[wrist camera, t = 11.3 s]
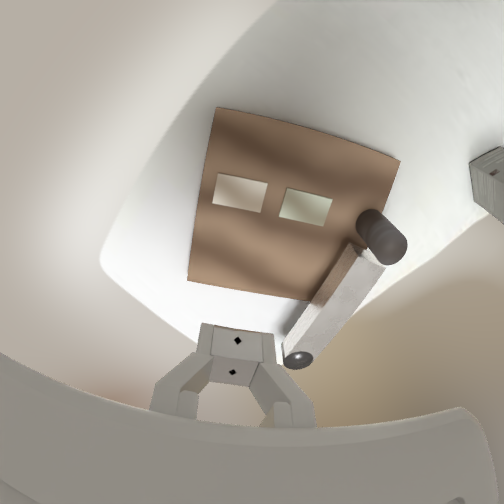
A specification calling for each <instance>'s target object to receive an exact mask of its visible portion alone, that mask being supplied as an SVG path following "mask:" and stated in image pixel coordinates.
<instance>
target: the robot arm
mask: <svg viewBox="0 0 504 504" xmlns="http://www.w3.org/2000/svg"><path fill="white" fill-rule="evenodd" d="M209 382H216V383H224V384H233V385H239V386H246V387H249V389H250V391H251V392H252V394H253V396H254V397H255V399H256V400H257V402H258V404H259V405H260V407H261V408H262V410H263V412H264V413H265V415H266V417H265V418H264V420H263V421H262V423H261V424H260V426H259V427H255V426H242V425H231V424H222V423H215V422H207V421H201V420H196V418H197V409H198V399H199V395H198V394H199V393H200V392H201V390H202V389H203V388H204V387H205V386H206V385H207V384H208V383H209ZM0 504H499V497H498V487H497V480H496V475H495V470H494V465H493V460H492V457H491V453H490V450H489V446H488V443H487V439H486V436H485V433H484V430H483V428H482V426H481V424H480V422H479V421H478V420H477V419H476V418H475V417H474V416H473V415H472V414H471V413H470V412H468V411H467V410H466V409H464V408H463V407H456V408H452V409H449V410H445V411H441V412H437V413H432V414H428V415H423V416H418V417H413V418H408V419H402V420H396V421H390V422H383V423H375V424H366V425H356V426H344V427H326V428H317V424H316V418H315V412H314V406H313V402H312V401H311V400H310V399H309V398H308V396H307V395H306V394H305V393H304V392H303V391H302V390H301V388H300V387H299V386H298V385H297V384H296V383H295V381H294V380H293V379H292V378H291V377H290V376H289V374H288V373H287V372H286V371H285V370H284V369H283V367H282V366H281V365H280V364H277V362H276V352H275V342H274V335H273V334H271V333H263V332H255V331H248V330H241V329H233V328H228V327H223V326H218V325H211V324H207V323H202V324H201V327H200V333H199V339H198V345H197V351H196V353H195V352H192V353H191V354H190V355H189V356H188V357H186V358H185V359H184V360H183V361H182V362H180V363H179V364H178V365H177V366H176V367H175V368H173V369H172V370H171V371H170V372H169V373H167V374H166V375H165V376H164V377H163V378H161V379H160V380H159V381H158V382H157V383H156V384H155V388H154V392H153V396H152V400H151V404H150V408H149V410H146V409H141V408H138V407H133V406H130V405H126V404H123V403H119V402H116V401H113V400H109V399H106V398H103V397H100V396H97V395H94V394H91V393H88V392H85V391H83V390H80V389H78V388H75V387H72V386H70V385H67V384H65V383H62V382H60V381H57V380H55V379H53V378H50V377H48V376H46V375H44V374H41V373H39V372H37V371H35V370H33V369H31V368H29V367H27V366H25V365H23V364H21V363H19V362H17V361H15V360H13V359H11V358H9V357H8V356H6V355H4V354H2V353H1V352H0Z"/></svg>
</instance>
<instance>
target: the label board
mask: <svg viewBox="0 0 504 504" xmlns="http://www.w3.org/2000/svg"><path fill="white" fill-rule="evenodd" d="M400 162H401V161H399V160H396V159H394V158H392V157H390V156H387V155H385V154H382V153H380V152H377V151H374V150H372V149H369V148H367V147H364V146H361V145H358V144H356V143H353V142H350V141H347V140H344V139H341V138H338V137H335V136H332V135H329V134H326V133H323V132H319V131H316V130H313V129H309V128H306V127H302V126H299V125H295V124H292V123H288V122H284V121H280V120H276V119H272V118H268V117H263V116H259V115H254V114H250V113H245V112H240V111H235V110H230V109H224V108H218V107H216V110H215V115H214V119H213V124H212V129H211V134H210V139H209V144H208V149H207V154H206V159H205V164H204V170H203V175H202V181H201V187H200V193H199V199H198V205H197V211H196V218H195V224H194V231H193V238H192V246H191V253H190V261H189V269H188V277H187V281H192V282H197V283H202V284H208V285H213V286H219V287H224V288H230V289H236V290H241V291H247V292H253V293H259V294H265V295H272V296H278V297H284V298H291V299H297V300H304V301H312V299H313V298H314V296H315V295H316V293H317V292H318V290H319V289H320V287H321V286H322V284H323V283H324V281H325V280H326V278H327V277H328V275H329V274H330V272H331V270H332V269H333V267H334V266H335V264H336V263H337V261H338V259H339V258H340V256H341V255H342V253H343V251H344V250H345V248H346V247H347V245H348V243H349V242H350V243H352V244H354V245H356V246H359V247H361V248H363V249H365V250H366V249H367V247H369V249H370V250H371V252H372V253H373V254H374V256H375V257H376V258H377V260H378V261H379V262H380V263H381V264H383V265H392V264H395V263H397V262H398V261H399V260H401V259H402V257H403V256H404V255H405V253H406V250H407V240H406V238H405V236H404V235H403V234H402V233H401V232H400V231H399V230H398V229H397V228H396V227H395V226H394V225H393V224H392V223H391V222H390V221H389V220H388V219H387V218H386V217H384V216H383V215H382V211H383V209H384V206H385V204H386V201H387V198H388V196H389V193H390V190H391V188H392V185H393V182H394V179H395V176H396V174H397V171H398V168H399V165H400Z"/></svg>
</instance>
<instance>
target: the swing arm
mask: <svg viewBox="0 0 504 504" xmlns="http://www.w3.org/2000/svg"><path fill="white" fill-rule="evenodd" d="M385 269H386V268H385V266H384V265H383V264H381V263H380V262H379V261H378V260H377V258H376V257H375V256H374V254H373V253H372V252H370V251H367V250H365V249H363V248H361V247H359V246H356V245H354V244H352V243H350V242H349V243H348V245H347V247H346V248H345V250H344V251H343V253H342V255H341V256H340V258H339V259H338V261H337V263H336V264H335V266H334V267H333V269H332V270H331V272H330V274H329V275H328V277H327V278H326V280H325V281H324V283H323V284H322V286H321V287H320V289H319V290H318V292H317V293H316V295H315V296H314V298H313V299H312V301H311V302H310V304H309V305H308V307H307V308H306V309H305V311H304V312H303V314H302V315H301V317H300V318H299V319H298V321H297V322H296V324H295V325H294V327H293V328H292V329H291V331H290V332H289V333H288V335H287V336H286V338H285V339H284V340H283V342H282V344H281V348H282V356H283V364H284V366H285V367H287V368H289V369H293V370H295V369H296V370H297V369H302V368H305V367H307V366H309V365H310V364H311V363H312V362H313V361H314V360H315V358H316V357H317V356H318V355H319V354H320V353H321V352H322V350H323V349H324V348H325V347H326V346H327V345H328V343H329V342H330V341H331V340H332V339H333V338H334V336H335V335H336V334H337V333H338V332H339V330H340V329H341V328H342V327H343V325H344V324H345V323H346V322H347V320H348V319H349V318H350V317H351V315H352V314H353V313H354V311H355V310H356V309H357V308H358V306H359V305H360V304H361V302H362V301H363V300H364V298H365V297H366V296H367V294H368V293H369V291H370V290H371V289H372V287H373V286H374V285H375V283H376V282H377V280H378V279H379V278H380V276H381V275H382V273H383V272H384V270H385Z"/></svg>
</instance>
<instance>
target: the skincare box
mask: <svg viewBox="0 0 504 504" xmlns="http://www.w3.org/2000/svg"><path fill="white" fill-rule="evenodd" d="M469 166H470V172H471V179H472V187H473V196H474V202H476V203H477V204H479V205H480V206H481V207H483V208H484V209H485V210H486V211H488V212H489V213H490V214H492V215H493V216H494V217H495V218H497V219H498V220H499V221H500V222H501V223H503V224H504V148H503V147H498V148H497V149H495V150H493V151H491V152H489V153H487V154H485V155H483V156H481V157H479V158H478V159H476V160H474V161H472V162H471V163H470V164H469Z"/></svg>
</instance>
